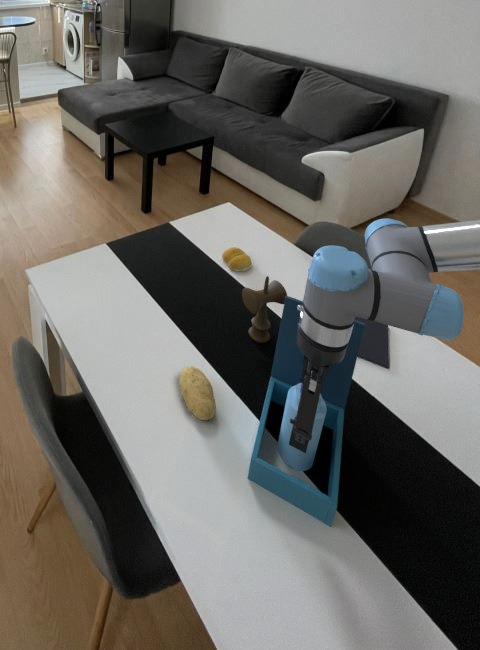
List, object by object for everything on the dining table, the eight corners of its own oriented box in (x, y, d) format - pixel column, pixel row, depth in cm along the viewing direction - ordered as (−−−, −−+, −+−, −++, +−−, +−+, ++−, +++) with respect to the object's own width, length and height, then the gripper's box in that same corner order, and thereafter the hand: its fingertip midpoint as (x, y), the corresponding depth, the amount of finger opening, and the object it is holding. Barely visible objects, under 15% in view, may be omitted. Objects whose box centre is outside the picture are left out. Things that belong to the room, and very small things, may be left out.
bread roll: (235, 276, 131) (236, 265, 130) (217, 257, 139) (218, 247, 138) (257, 268, 134) (259, 258, 132) (238, 251, 141) (240, 241, 140)
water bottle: (314, 449, 85) (332, 379, 78) (310, 481, 80) (329, 409, 73) (280, 432, 89) (293, 362, 81) (274, 461, 84) (288, 390, 76)
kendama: (235, 332, 113) (242, 272, 105) (266, 322, 115) (275, 263, 107) (250, 351, 107) (258, 290, 100) (282, 340, 110) (293, 280, 102)
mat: (387, 326, 112) (388, 325, 112) (388, 368, 101) (389, 367, 101) (327, 305, 119) (327, 304, 119) (321, 342, 108) (322, 341, 108)
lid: (364, 325, 80) (364, 323, 81) (285, 297, 88) (285, 295, 88) (344, 409, 85) (344, 406, 86) (270, 375, 92) (271, 373, 93)
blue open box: (329, 533, 74) (337, 506, 71) (246, 484, 81) (250, 458, 78) (337, 434, 88) (344, 409, 86) (266, 400, 96) (270, 376, 93)
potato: (202, 377, 101) (203, 358, 99) (222, 425, 91) (224, 406, 89) (174, 381, 101) (175, 362, 98) (191, 430, 91) (193, 411, 88)
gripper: (307, 275, 83) (291, 353, 91) (286, 379, 64) (268, 465, 72) (352, 290, 79) (331, 369, 88) (344, 405, 60) (317, 493, 68)
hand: (302, 413), depth 80 cm, fingers open, 13 cm apart
